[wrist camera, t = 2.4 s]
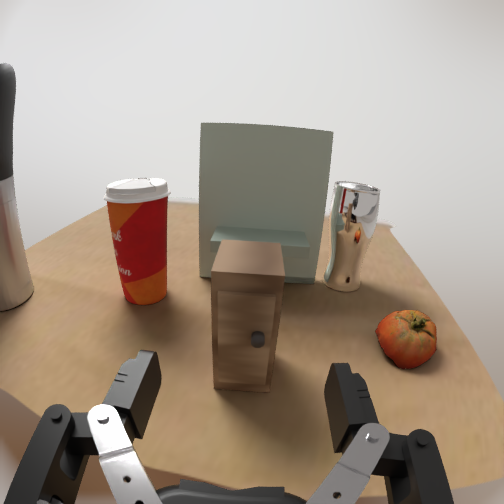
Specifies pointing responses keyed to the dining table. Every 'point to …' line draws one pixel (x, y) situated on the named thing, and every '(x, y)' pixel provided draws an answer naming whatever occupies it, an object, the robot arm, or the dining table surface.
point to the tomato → (407, 337)
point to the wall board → (264, 191)
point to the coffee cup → (140, 236)
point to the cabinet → (245, 313)
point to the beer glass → (350, 233)
